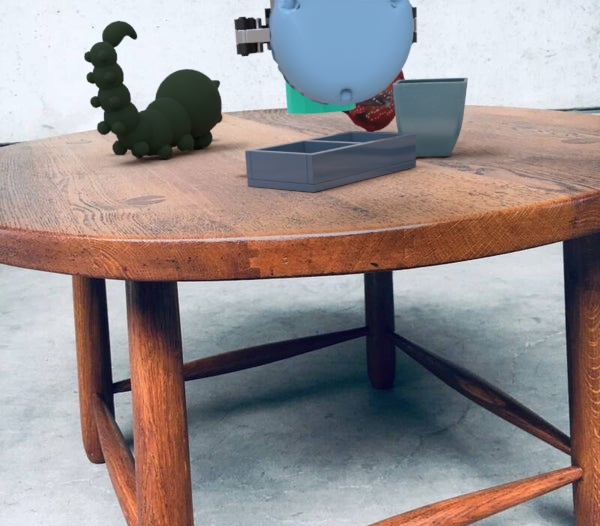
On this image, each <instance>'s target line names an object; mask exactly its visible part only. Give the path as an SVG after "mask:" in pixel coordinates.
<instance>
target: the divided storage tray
mask: <svg viewBox="0 0 600 526" xmlns="http://www.w3.org/2000/svg"><path fill="white" fill-rule="evenodd" d="M244 157H245V167H246V168H245V169H246V183H247V187H253V188H263V189H273V190H283V191H294V192H304V193H305V192H306V193H317V192H322V191H325V190H329V189H333V188H336V187H341V186H345V185H349V184H354V183H356V182H362V181H366V180H369V179H373V178H377V177H380V176H381V177H382V176H385V175H388V174H393V173H398V172H402V171H405V170H408V169H413V168H416V166H417V161H416V159H417V157H416V134H415V133H398V132H393V131H392V132H391V131H390V132H389V131H374V132H367V131H366V130H365V131H361V130H348V131H343V132H338V133H332V134H327V135H322V136H317V137H311V138H306V139H299V140H295V141H289V142H285V143H284V142H283V143H278V144H273V145H268V146H262V147H258V148H252V149H246V150H245V151H244Z"/></svg>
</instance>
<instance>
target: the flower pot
mask: <svg viewBox="0 0 600 526" xmlns="http://www.w3.org/2000/svg"><path fill="white" fill-rule="evenodd" d="M468 81H469V79H468V77H444V78H443V77H442V78H440V77H439V78H437V77H436V78H411V79H407V78H406V79H405V80H398V81H397V82H395V83H393V95H394V105H395V123H396V128H397V133H415V134H416V158H418V157H441V158H446V157H450V156H451V154H452V153H453V150H454V149H455V147H456V145H457V143H458V140H459V137H460V134H461V130H462V126H463V121H464V114H465V107H466V106H465V105H466V97H467V89H468Z"/></svg>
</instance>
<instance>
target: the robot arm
mask: <svg viewBox="0 0 600 526" xmlns="http://www.w3.org/2000/svg"><path fill="white" fill-rule="evenodd" d="M269 5H270V6H269V7H266V8H264V21H265V24H263V23H262V18H261V17H252V16H250V17H246V16H238V18H236V19H235V18H234V19H233V21H234V22H233V23H234V33H235V34H234V35H235V46H236V47H235V48H236V55H240V56H241V57H249V55H252V54H264V52H265V51H264V44H266V49H267V50H268V51H271V56H272V60H273V61H274V62H275V63H276V64H277V70H278V71H279V72H280V74H282V77H283V80H284V81H286V82H287V83H288V84H289V85H290V86H291V87H292V88H293V89H294V90H297V91H298V92H300V95H303V96H305V97H306V98H308V99H310V100H311V101H314V102H318V103H321V104H325V105H328V104H335V105H349V104H353V103H359V102H362V101H365V100H368V99H370V98H372V97H374V96H375V95H377V94H379V93H380V92H382V91H383V90H384V89H386V88H387V87H388V86H389V85H390V84H391V83H392V82H393V80H394V79H395V78H396V77H397V76H398V74H399V73H400V71H401V70H402V71H403V69H404V67H405V64H406V63H407V61H408V59H409V55H410V53H411V49H412V45H413V44H415V43H418V11H417V10H418V7H417V6H413V5H412V4H411V1H410V0H269Z"/></svg>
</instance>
